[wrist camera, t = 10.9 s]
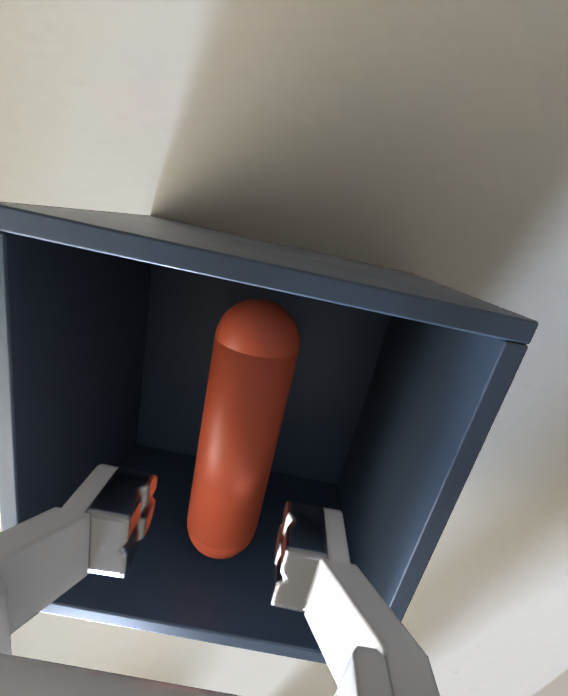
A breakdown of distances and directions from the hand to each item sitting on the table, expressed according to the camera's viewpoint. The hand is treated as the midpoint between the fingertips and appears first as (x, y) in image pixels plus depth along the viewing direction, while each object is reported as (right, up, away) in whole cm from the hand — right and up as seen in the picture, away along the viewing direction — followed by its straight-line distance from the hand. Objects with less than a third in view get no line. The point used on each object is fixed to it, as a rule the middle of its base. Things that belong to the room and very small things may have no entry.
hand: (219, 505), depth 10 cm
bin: (0, +3, +10) cm, 10 cm away
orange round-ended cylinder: (0, +2, +5) cm, 5 cm away
